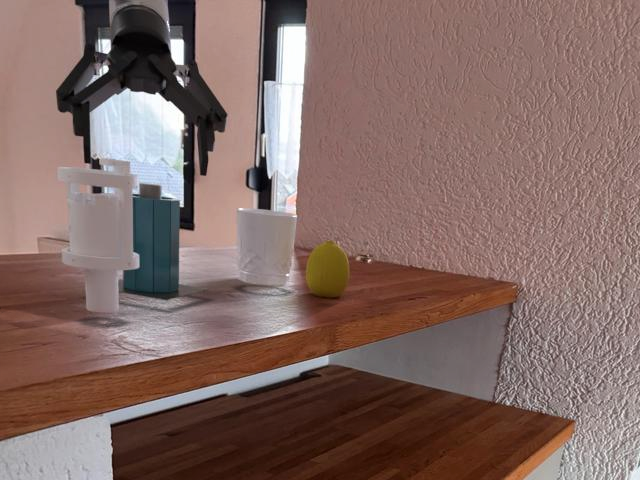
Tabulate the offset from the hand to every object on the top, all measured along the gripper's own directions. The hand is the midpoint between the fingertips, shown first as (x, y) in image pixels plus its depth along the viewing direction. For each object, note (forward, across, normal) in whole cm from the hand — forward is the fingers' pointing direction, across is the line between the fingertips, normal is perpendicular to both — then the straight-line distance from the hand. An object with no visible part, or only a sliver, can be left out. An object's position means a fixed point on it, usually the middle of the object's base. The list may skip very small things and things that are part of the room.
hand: (147, 161), depth 88 cm
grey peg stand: (+17, 0, -4) cm, 17 cm away
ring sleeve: (+16, 0, -3) cm, 16 cm away
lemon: (+15, -22, -5) cm, 27 cm away
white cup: (+10, -15, -11) cm, 21 cm away
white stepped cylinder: (+26, +6, +6) cm, 27 cm away
